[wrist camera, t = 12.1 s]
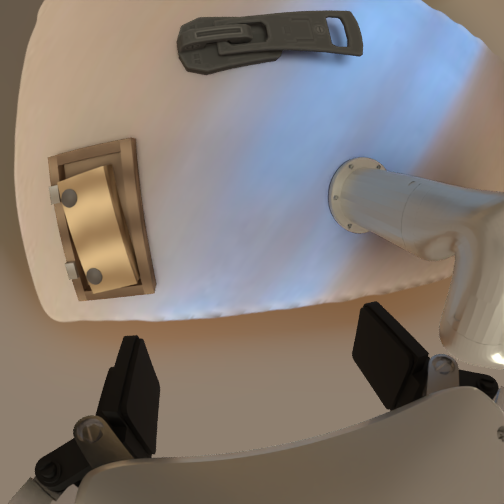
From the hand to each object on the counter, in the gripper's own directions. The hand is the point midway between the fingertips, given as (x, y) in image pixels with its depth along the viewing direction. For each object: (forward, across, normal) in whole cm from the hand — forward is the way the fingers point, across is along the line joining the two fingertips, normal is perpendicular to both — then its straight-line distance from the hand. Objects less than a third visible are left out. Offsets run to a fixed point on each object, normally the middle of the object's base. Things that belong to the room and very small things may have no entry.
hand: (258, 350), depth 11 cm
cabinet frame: (+29, +17, 0) cm, 34 cm away
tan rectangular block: (+28, +17, 0) cm, 33 cm away
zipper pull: (+31, -8, -24) cm, 40 cm away
